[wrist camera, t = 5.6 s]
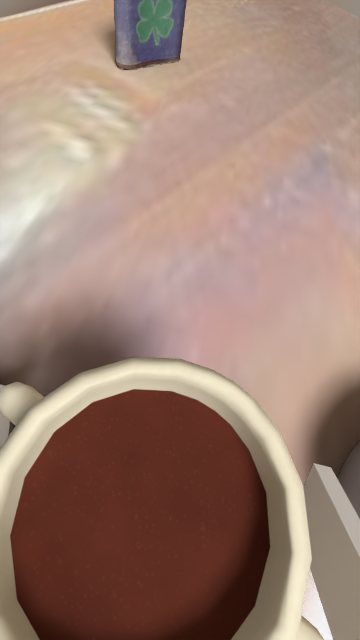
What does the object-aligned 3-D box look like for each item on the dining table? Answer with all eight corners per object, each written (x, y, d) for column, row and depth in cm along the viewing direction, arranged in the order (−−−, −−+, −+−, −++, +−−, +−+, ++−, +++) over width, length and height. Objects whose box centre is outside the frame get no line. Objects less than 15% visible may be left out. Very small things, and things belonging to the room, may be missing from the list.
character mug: (257, 518, 19) (444, 528, 7) (182, 665, 15) (315, 1087, 4) (108, 399, 21) (78, 268, 10) (16, 504, 18) (-193, 490, 6)
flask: (121, 72, 41) (118, -57, 32) (110, 61, 42) (104, -67, 33) (184, 62, 44) (197, -58, 35) (172, 51, 45) (182, -67, 36)
